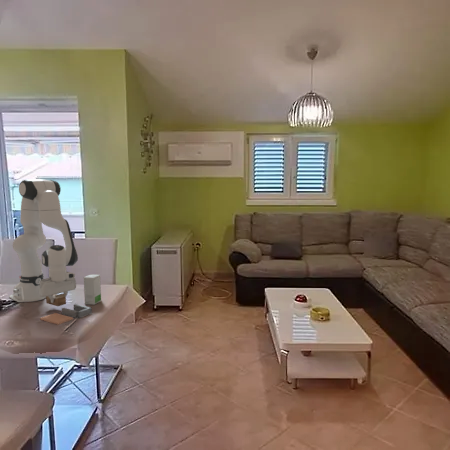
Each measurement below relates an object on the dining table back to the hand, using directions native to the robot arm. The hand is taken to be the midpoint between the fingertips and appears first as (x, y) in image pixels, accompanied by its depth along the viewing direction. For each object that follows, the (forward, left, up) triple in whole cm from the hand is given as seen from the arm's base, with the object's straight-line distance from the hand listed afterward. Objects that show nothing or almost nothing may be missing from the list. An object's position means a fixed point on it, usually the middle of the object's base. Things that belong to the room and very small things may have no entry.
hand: (58, 301), depth 223 cm
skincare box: (+5, +19, -5) cm, 20 cm away
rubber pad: (+11, -9, -5) cm, 15 cm away
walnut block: (-2, 0, -2) cm, 3 cm away
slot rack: (+12, +2, -5) cm, 13 cm away
